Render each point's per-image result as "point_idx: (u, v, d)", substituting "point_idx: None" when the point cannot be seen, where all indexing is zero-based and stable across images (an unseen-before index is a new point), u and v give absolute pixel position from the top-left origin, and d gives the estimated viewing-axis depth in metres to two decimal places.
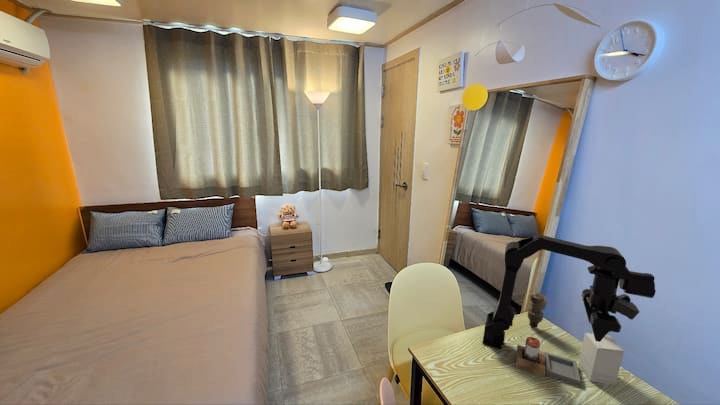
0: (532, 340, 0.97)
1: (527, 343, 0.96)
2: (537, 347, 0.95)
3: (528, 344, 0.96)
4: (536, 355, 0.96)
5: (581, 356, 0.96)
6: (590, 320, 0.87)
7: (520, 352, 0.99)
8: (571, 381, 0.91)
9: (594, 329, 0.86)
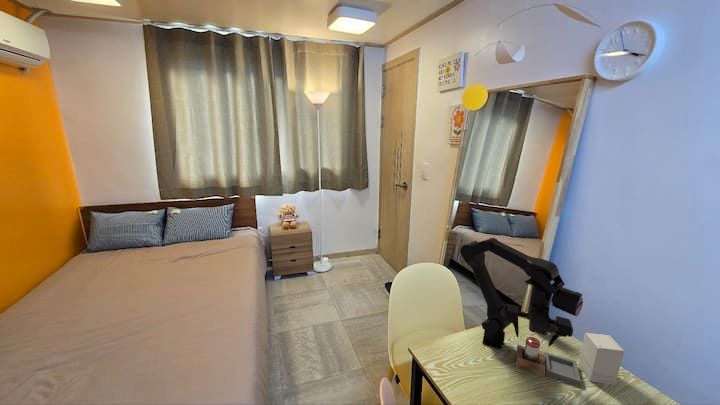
0: (532, 340, 0.97)
1: (527, 343, 0.96)
2: (537, 347, 0.95)
3: (528, 344, 0.96)
4: (536, 355, 0.96)
5: (581, 356, 0.96)
6: None
7: (520, 352, 0.99)
8: (571, 381, 0.91)
9: None
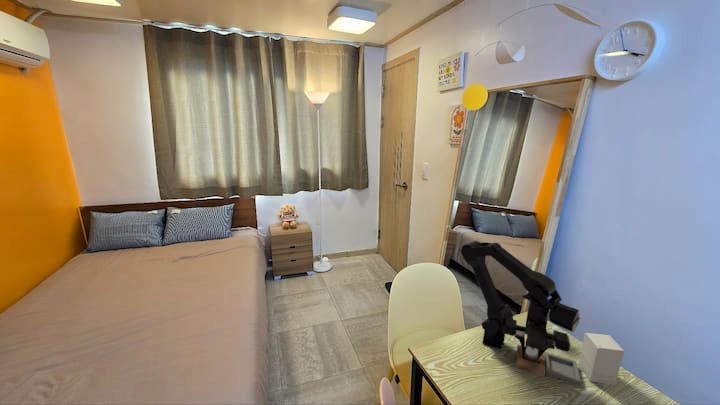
0: None
1: None
2: None
3: None
4: (536, 355, 0.96)
5: (581, 356, 0.96)
6: None
7: (520, 352, 0.99)
8: (571, 381, 0.91)
9: None
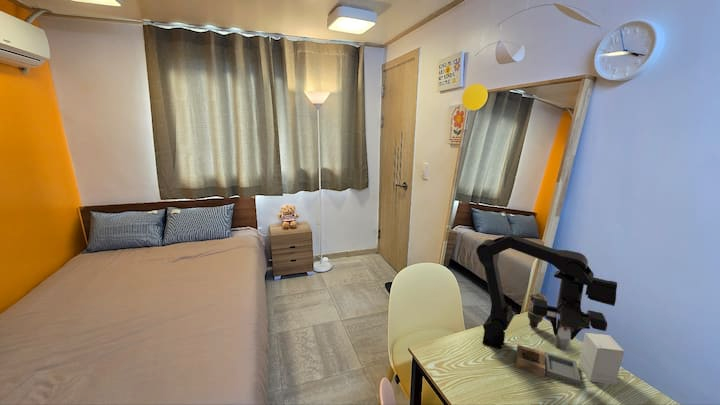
0: None
1: (559, 324, 0.91)
2: (570, 328, 0.90)
3: (560, 325, 0.91)
4: (569, 337, 0.90)
5: (581, 356, 0.96)
6: None
7: (520, 352, 0.99)
8: (571, 381, 0.91)
9: None
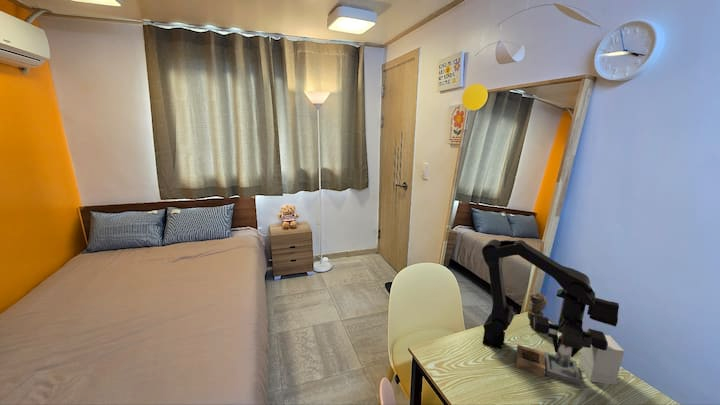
0: None
1: (560, 342, 0.93)
2: None
3: (561, 343, 0.92)
4: (570, 354, 0.92)
5: (581, 356, 0.96)
6: None
7: (520, 352, 0.99)
8: (571, 381, 0.91)
9: None
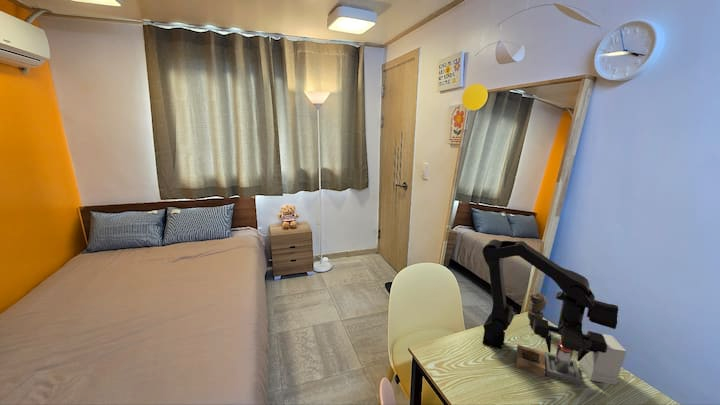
0: None
1: (559, 348, 0.93)
2: (570, 352, 0.92)
3: (560, 349, 0.93)
4: (569, 360, 0.93)
5: None
6: None
7: (520, 352, 0.99)
8: (571, 381, 0.91)
9: None
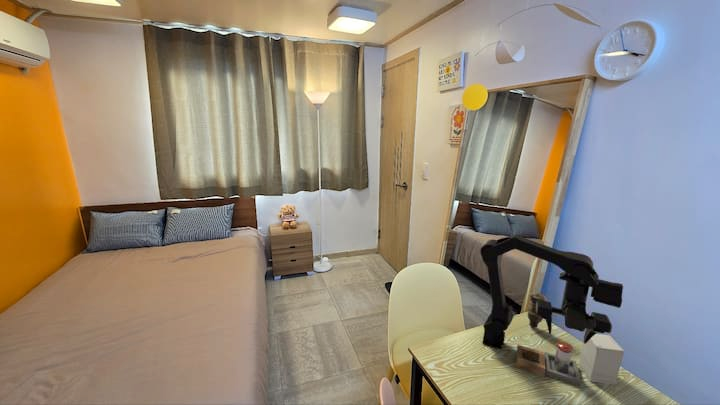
0: (563, 345, 0.94)
1: (558, 348, 0.93)
2: (569, 352, 0.92)
3: (560, 349, 0.93)
4: (568, 360, 0.93)
5: (581, 356, 0.96)
6: None
7: (520, 352, 0.99)
8: (571, 381, 0.91)
9: None
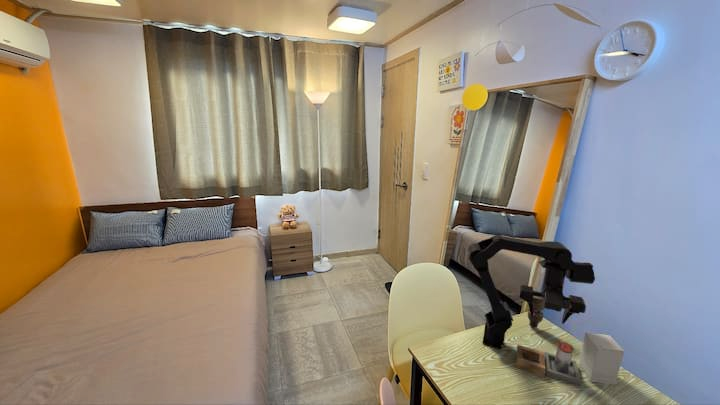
0: (564, 345, 0.94)
1: (559, 348, 0.93)
2: (570, 352, 0.92)
3: (561, 349, 0.93)
4: (569, 361, 0.93)
5: (581, 356, 0.96)
6: None
7: (520, 352, 0.99)
8: (571, 381, 0.91)
9: None
